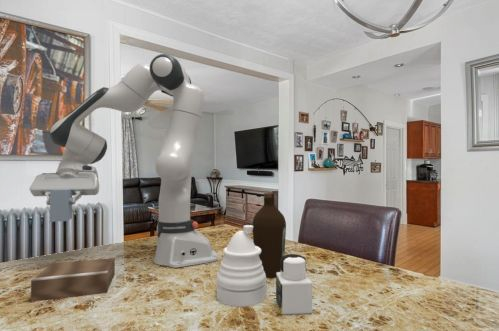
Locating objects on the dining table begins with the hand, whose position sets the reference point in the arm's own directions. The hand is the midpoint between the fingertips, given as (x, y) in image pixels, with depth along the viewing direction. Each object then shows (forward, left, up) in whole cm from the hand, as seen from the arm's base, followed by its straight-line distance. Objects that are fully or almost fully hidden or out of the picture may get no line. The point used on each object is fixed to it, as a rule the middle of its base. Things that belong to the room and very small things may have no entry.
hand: (60, 203), depth 94 cm
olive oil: (-64, +23, -21) cm, 71 cm away
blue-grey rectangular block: (0, -1, -5) cm, 5 cm away
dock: (-9, +17, -21) cm, 29 cm away
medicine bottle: (-61, +46, -22) cm, 80 cm away
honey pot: (-51, +36, -22) cm, 66 cm away
